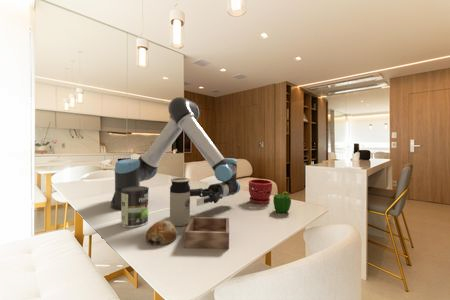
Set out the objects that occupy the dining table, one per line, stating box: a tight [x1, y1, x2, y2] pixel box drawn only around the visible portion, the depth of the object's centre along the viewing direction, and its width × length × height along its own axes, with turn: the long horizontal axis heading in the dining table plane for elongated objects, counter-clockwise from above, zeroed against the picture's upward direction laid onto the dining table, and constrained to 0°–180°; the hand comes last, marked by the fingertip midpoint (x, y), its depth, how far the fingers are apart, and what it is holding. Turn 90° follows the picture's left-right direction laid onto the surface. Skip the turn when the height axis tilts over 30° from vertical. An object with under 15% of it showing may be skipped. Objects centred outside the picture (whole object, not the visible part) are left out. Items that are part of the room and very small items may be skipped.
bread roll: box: [145, 220, 178, 246], centre depth 75 cm, size 10×10×8 cm
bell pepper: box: [272, 191, 292, 214], centre depth 107 cm, size 8×8×10 cm
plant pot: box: [248, 178, 273, 205], centre depth 124 cm, size 13×13×12 cm
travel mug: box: [169, 177, 191, 227], centre depth 90 cm, size 8×8×18 cm
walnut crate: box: [183, 216, 230, 250], centre depth 76 cm, size 14×14×5 cm
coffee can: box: [120, 185, 149, 229], centre depth 89 cm, size 10×10×14 cm
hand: (185, 199), depth 91 cm, fingers open, 13 cm apart
